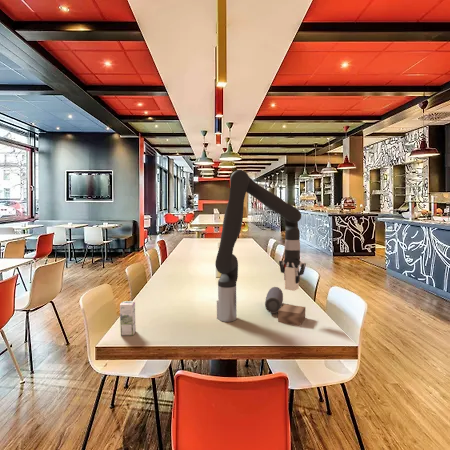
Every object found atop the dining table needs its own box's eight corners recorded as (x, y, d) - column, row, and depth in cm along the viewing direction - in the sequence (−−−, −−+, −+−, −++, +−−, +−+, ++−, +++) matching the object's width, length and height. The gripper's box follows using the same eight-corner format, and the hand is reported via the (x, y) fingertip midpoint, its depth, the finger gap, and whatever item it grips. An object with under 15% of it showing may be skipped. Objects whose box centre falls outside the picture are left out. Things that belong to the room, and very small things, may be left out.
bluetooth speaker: (282, 316, 179) (282, 297, 179) (264, 315, 181) (264, 296, 181) (283, 303, 202) (283, 286, 201) (267, 302, 204) (267, 285, 203)
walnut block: (278, 322, 171) (278, 310, 171) (284, 315, 181) (284, 304, 180) (300, 325, 166) (300, 313, 166) (305, 318, 176) (305, 306, 176)
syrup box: (136, 330, 161) (135, 300, 160) (133, 335, 155) (132, 304, 154) (123, 331, 161) (122, 300, 160) (120, 336, 155) (119, 304, 154)
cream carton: (285, 289, 172) (285, 265, 171) (289, 287, 176) (289, 263, 175) (294, 290, 169) (294, 266, 168) (298, 288, 173) (298, 265, 172)
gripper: (275, 248, 172) (275, 281, 174) (302, 250, 164) (302, 286, 165) (282, 246, 178) (282, 278, 179) (309, 248, 169) (308, 282, 171)
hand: (291, 282), depth 172 cm, fingers closed on cream carton, 5 cm apart
